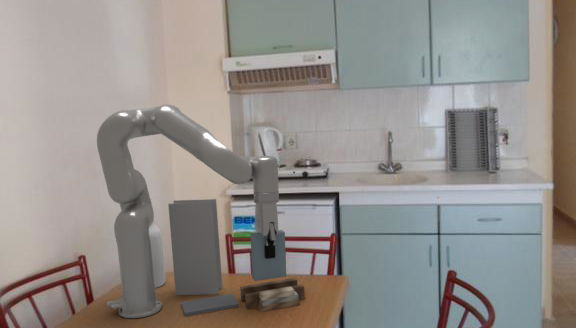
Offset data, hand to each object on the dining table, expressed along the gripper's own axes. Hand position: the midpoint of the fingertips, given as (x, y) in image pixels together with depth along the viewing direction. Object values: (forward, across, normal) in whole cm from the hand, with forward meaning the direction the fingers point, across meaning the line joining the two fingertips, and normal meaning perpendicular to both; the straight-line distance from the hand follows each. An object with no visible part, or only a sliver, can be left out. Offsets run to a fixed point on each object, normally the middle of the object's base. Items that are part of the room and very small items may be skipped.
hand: (268, 255), depth 158 cm
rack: (+14, 0, +1) cm, 14 cm away
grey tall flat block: (+14, -17, -19) cm, 29 cm away
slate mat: (+14, -3, -18) cm, 23 cm away
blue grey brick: (+7, 0, 0) cm, 7 cm away
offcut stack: (+14, +6, +1) cm, 15 cm away
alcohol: (+15, -31, -33) cm, 48 cm away
